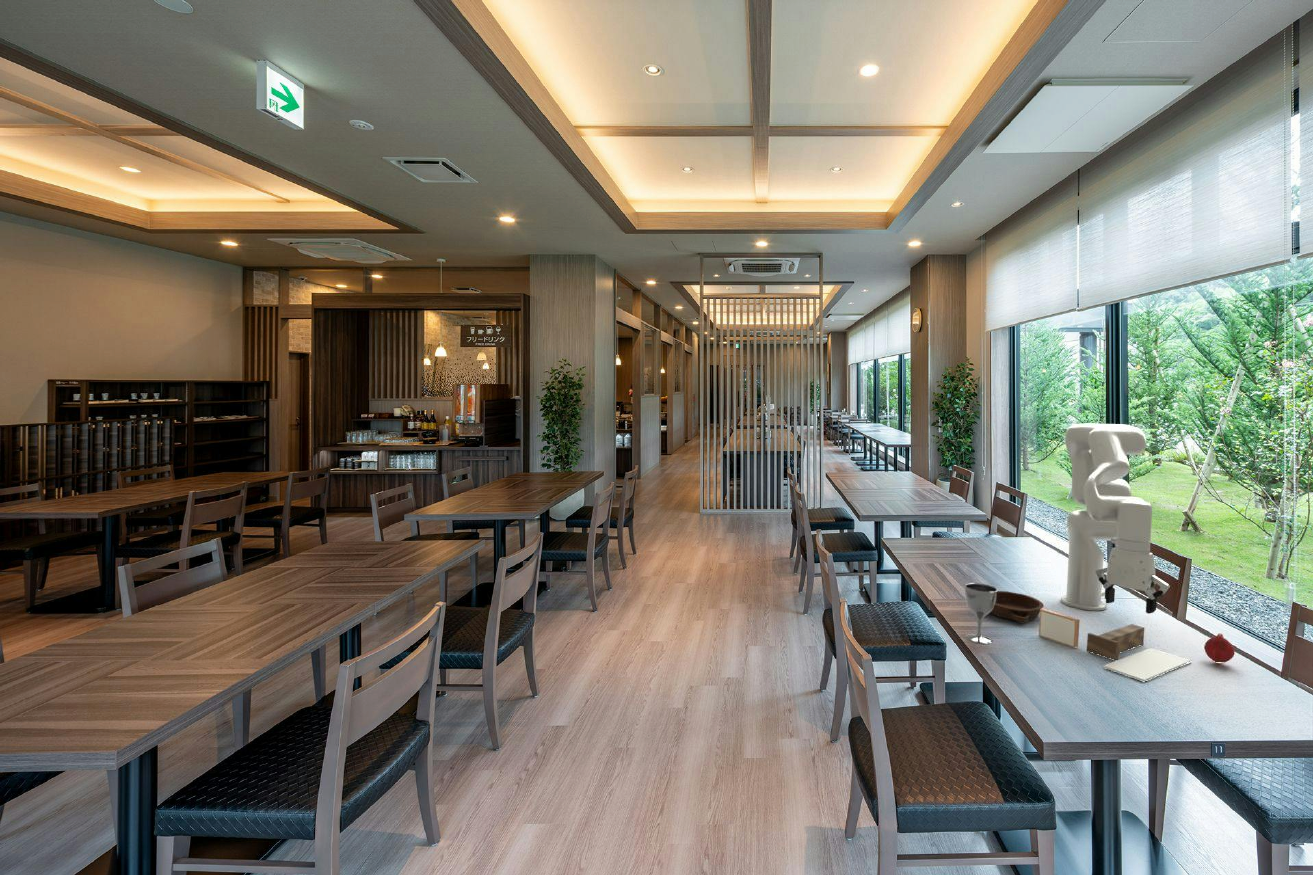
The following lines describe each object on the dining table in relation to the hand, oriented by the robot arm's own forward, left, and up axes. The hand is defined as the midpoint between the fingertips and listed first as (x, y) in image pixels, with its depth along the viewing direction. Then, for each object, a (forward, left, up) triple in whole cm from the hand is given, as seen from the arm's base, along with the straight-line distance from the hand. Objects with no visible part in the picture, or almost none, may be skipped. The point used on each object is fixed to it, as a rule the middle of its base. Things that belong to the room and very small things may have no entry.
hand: (1129, 607), depth 173 cm
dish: (+3, -31, -12) cm, 34 cm away
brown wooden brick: (+3, 0, -11) cm, 12 cm away
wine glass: (+31, -23, -12) cm, 40 cm away
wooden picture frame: (+13, -11, -11) cm, 20 cm away
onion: (-9, +17, -12) cm, 22 cm away
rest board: (+9, +9, -11) cm, 17 cm away
